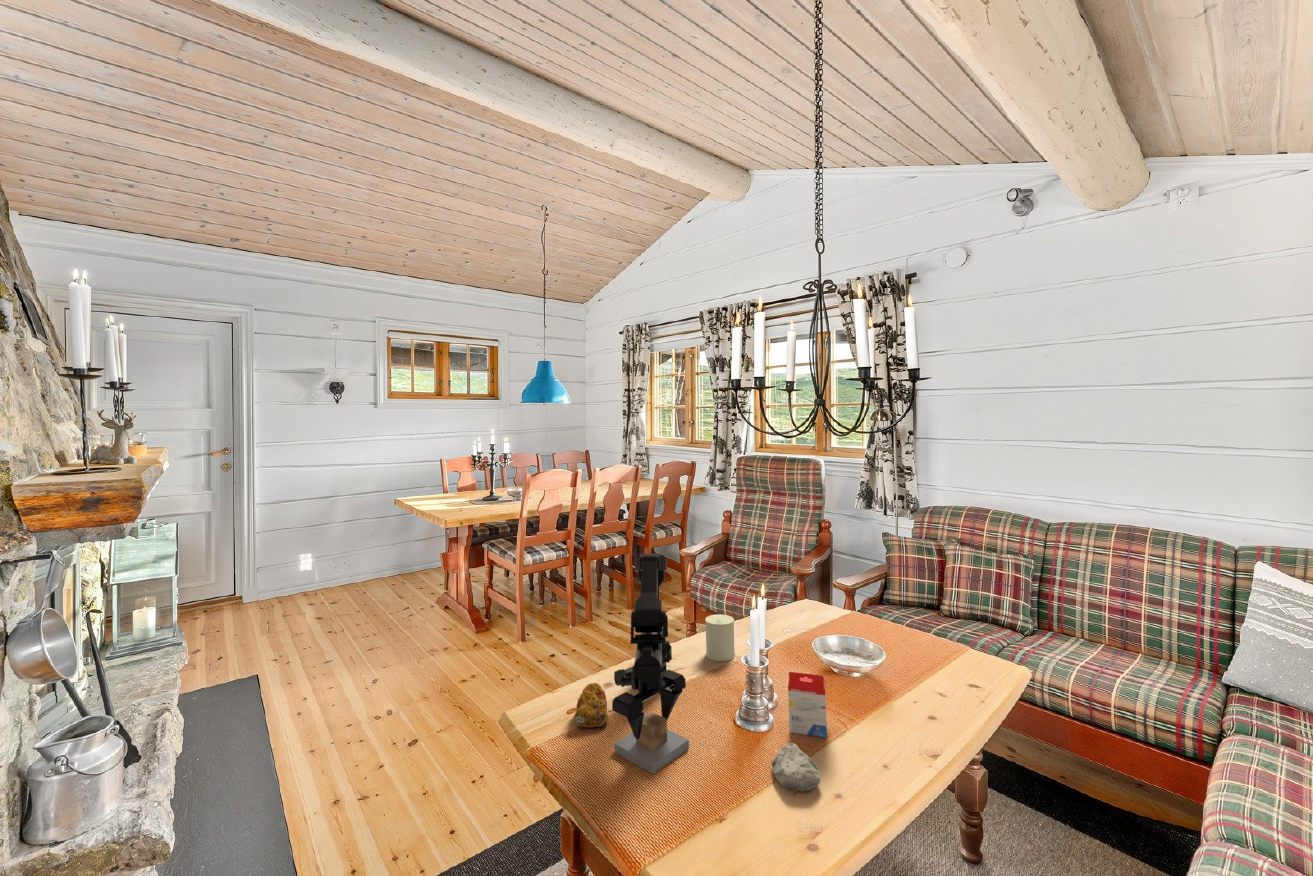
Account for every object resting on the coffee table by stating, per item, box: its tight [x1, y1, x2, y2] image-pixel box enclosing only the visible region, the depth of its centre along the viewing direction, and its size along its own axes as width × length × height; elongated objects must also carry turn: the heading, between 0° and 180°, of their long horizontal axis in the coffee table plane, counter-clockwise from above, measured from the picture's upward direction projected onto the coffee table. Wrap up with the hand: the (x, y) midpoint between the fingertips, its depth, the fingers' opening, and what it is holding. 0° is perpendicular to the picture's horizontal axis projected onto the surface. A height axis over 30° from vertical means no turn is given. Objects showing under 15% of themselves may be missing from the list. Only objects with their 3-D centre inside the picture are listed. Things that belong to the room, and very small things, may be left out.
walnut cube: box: [636, 711, 668, 751], centre depth 124 cm, size 5×5×5 cm
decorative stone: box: [771, 742, 822, 793], centre depth 114 cm, size 12×11×5 cm
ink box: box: [787, 671, 828, 739], centre depth 131 cm, size 8×5×15 cm, turn 71°
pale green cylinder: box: [705, 614, 736, 662], centre depth 174 cm, size 9×9×12 cm
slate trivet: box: [613, 728, 690, 775], centre depth 124 cm, size 12×12×2 cm
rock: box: [573, 682, 609, 729], centre depth 139 cm, size 11×8×10 cm
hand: (651, 729), depth 124 cm, fingers open, 9 cm apart
